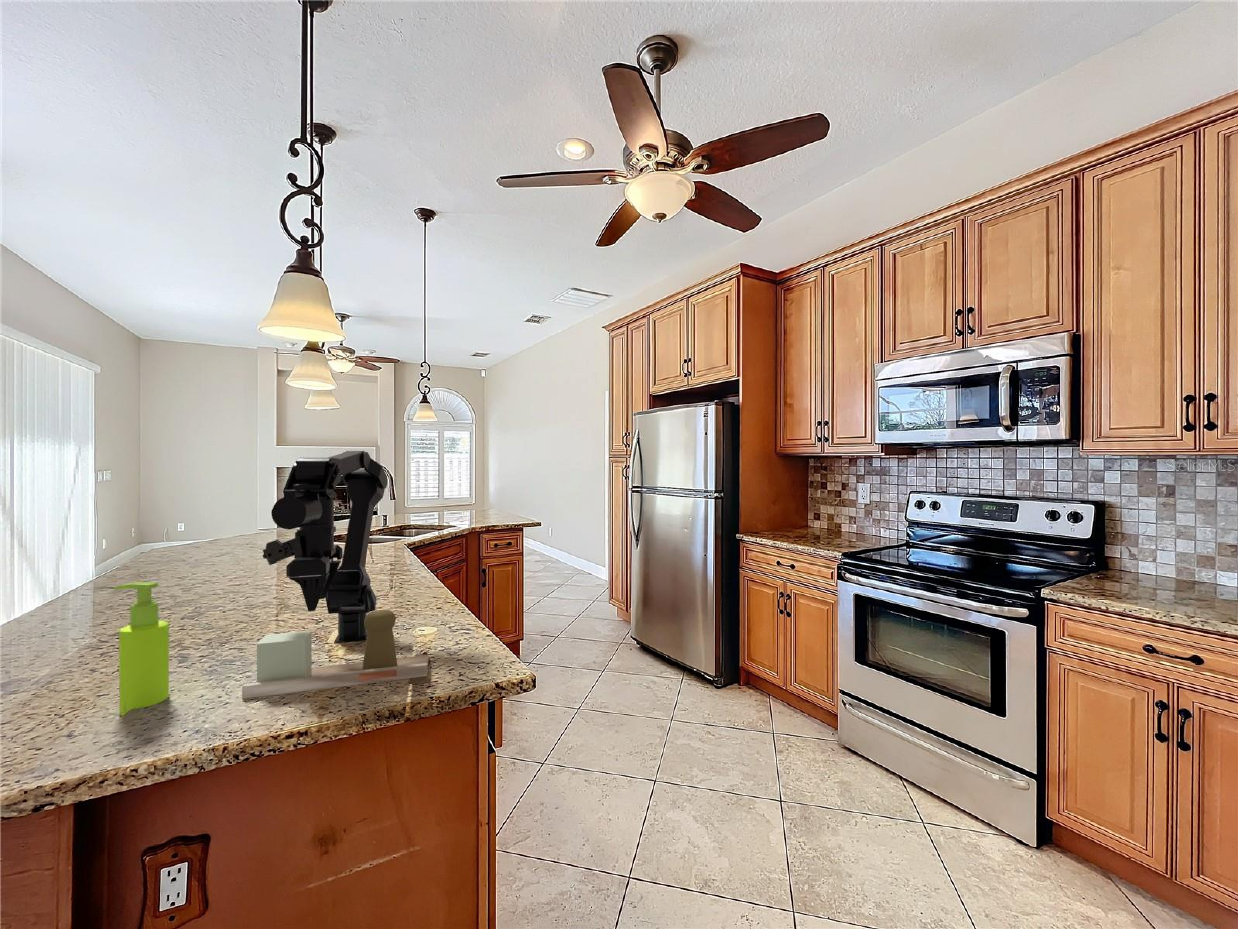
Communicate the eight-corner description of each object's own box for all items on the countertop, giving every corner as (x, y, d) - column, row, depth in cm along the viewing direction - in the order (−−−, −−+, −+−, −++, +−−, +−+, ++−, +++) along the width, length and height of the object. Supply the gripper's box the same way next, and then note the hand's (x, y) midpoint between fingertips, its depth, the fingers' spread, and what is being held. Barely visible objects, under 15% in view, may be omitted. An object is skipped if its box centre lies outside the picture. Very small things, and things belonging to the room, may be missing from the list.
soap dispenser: (133, 700, 88) (132, 579, 88) (177, 699, 88) (177, 578, 88) (101, 717, 82) (101, 587, 82) (149, 716, 82) (149, 586, 82)
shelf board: (263, 679, 96) (262, 662, 96) (427, 661, 105) (427, 644, 105) (242, 706, 86) (242, 686, 86) (427, 682, 95) (427, 664, 95)
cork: (354, 677, 94) (354, 615, 94) (375, 664, 100) (375, 606, 100) (384, 680, 93) (384, 617, 93) (404, 667, 99) (404, 607, 99)
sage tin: (266, 680, 93) (265, 634, 93) (311, 675, 95) (311, 630, 95) (256, 692, 88) (256, 644, 88) (305, 686, 90) (305, 639, 90)
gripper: (281, 519, 108) (281, 596, 108) (251, 530, 90) (251, 622, 90) (342, 517, 112) (343, 592, 112) (325, 528, 94) (325, 616, 94)
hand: (317, 604), depth 102 cm, fingers open, 9 cm apart
